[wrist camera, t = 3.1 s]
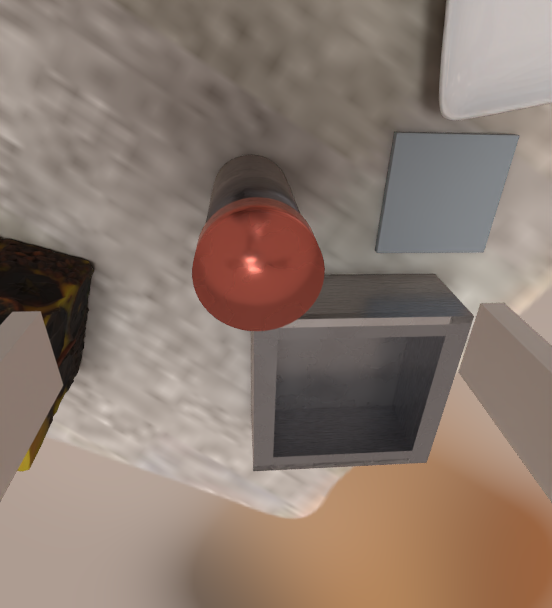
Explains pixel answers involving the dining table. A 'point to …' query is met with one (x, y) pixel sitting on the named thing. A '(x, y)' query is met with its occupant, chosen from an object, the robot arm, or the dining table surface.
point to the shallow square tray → (357, 374)
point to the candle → (47, 309)
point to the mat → (443, 191)
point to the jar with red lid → (256, 250)
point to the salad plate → (495, 57)
